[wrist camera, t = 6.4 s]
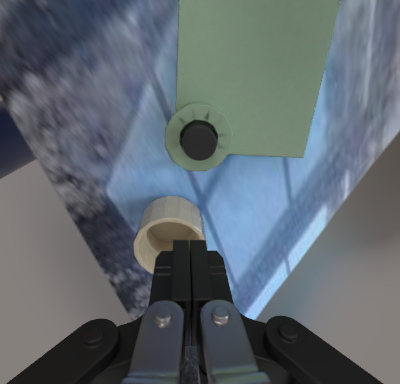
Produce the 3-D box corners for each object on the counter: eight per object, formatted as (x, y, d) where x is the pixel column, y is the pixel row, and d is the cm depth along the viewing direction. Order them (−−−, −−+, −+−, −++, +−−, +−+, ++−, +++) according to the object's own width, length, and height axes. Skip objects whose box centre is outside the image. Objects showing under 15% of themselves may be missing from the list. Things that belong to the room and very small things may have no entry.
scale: (166, 159, 25) (164, 169, 22) (170, -44, 19) (168, -65, 16) (294, 166, 26) (307, 176, 23) (338, -24, 20) (363, -41, 17)
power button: (182, 153, 22) (182, 160, 20) (183, 121, 21) (183, 126, 19) (212, 154, 22) (215, 161, 20) (215, 123, 21) (218, 128, 19)
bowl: (142, 245, 28) (134, 277, 24) (141, 192, 26) (132, 216, 21) (200, 246, 29) (203, 277, 24) (204, 195, 26) (209, 219, 22)
